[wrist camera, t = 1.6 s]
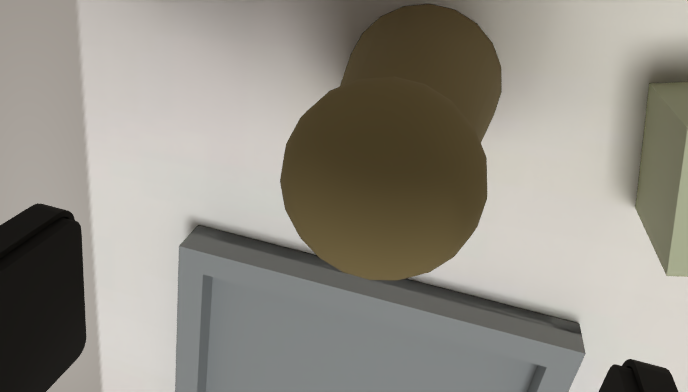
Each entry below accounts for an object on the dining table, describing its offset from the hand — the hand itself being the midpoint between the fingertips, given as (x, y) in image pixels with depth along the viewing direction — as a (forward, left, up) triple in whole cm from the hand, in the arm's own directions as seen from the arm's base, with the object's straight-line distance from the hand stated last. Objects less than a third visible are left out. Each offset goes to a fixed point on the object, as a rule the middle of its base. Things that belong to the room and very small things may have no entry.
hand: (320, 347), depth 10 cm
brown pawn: (-1, 0, -15) cm, 15 cm away
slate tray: (+18, 0, -15) cm, 24 cm away
